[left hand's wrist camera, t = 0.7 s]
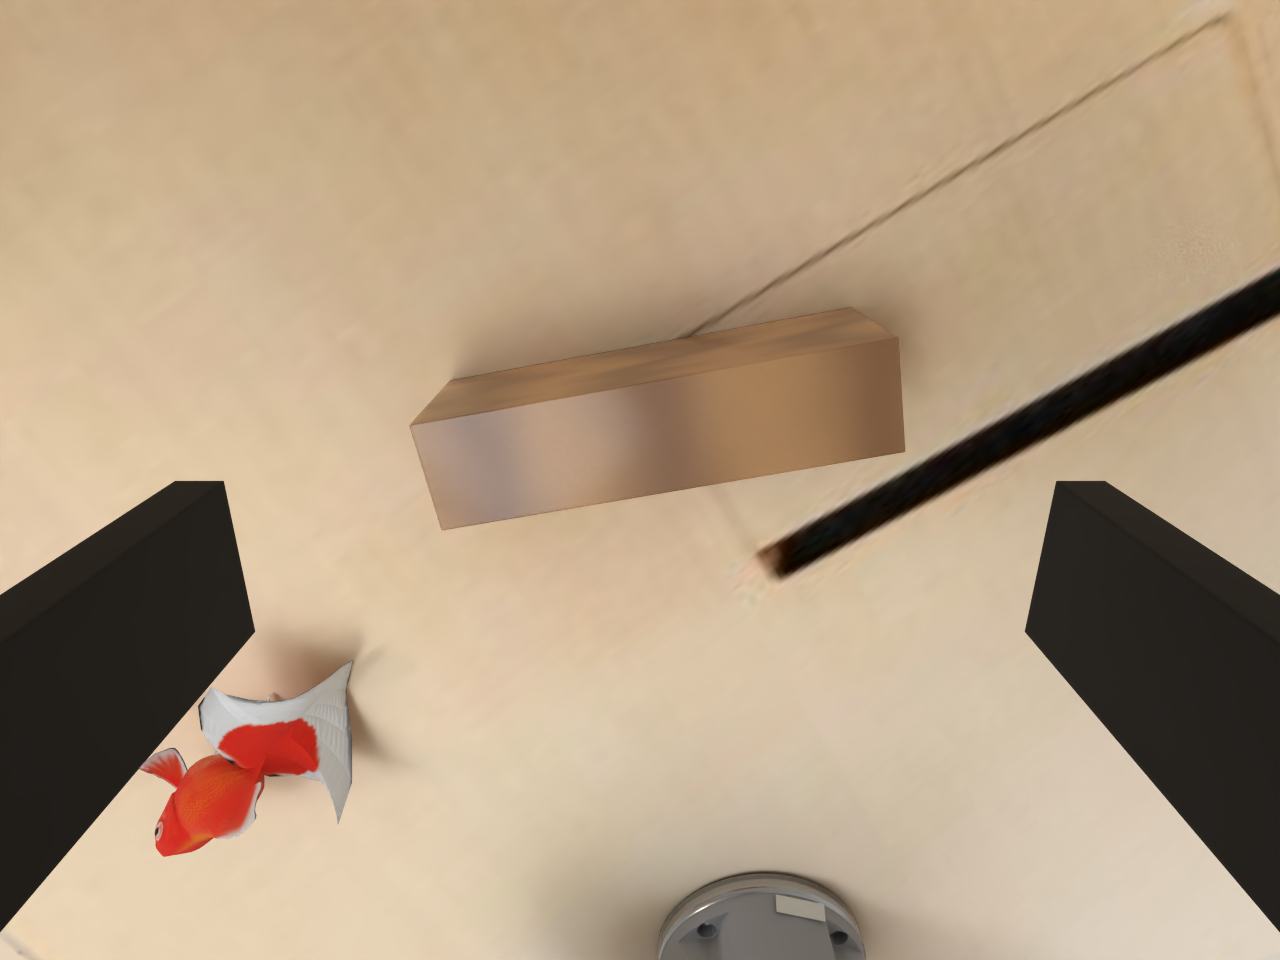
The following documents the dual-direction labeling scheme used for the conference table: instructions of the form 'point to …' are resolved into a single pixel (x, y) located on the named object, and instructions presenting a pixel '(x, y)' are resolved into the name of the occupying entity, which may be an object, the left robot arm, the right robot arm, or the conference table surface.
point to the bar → (662, 418)
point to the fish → (253, 760)
